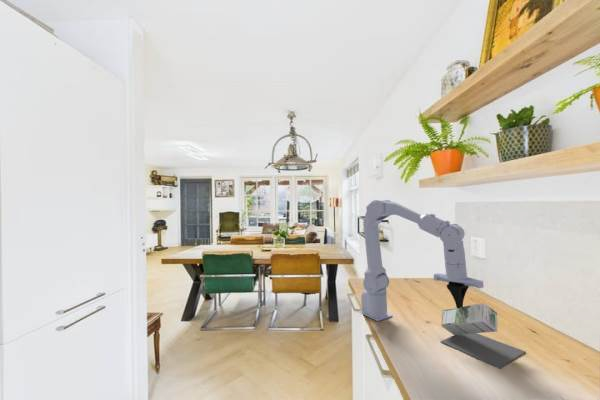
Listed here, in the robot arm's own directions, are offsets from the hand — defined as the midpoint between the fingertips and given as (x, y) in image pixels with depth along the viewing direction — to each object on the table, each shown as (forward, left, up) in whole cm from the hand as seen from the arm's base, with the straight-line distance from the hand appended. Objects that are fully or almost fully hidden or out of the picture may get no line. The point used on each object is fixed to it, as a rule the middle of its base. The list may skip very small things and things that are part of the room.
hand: (459, 307), depth 85 cm
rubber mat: (+6, 0, -10) cm, 11 cm away
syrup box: (-4, 0, -6) cm, 7 cm away
